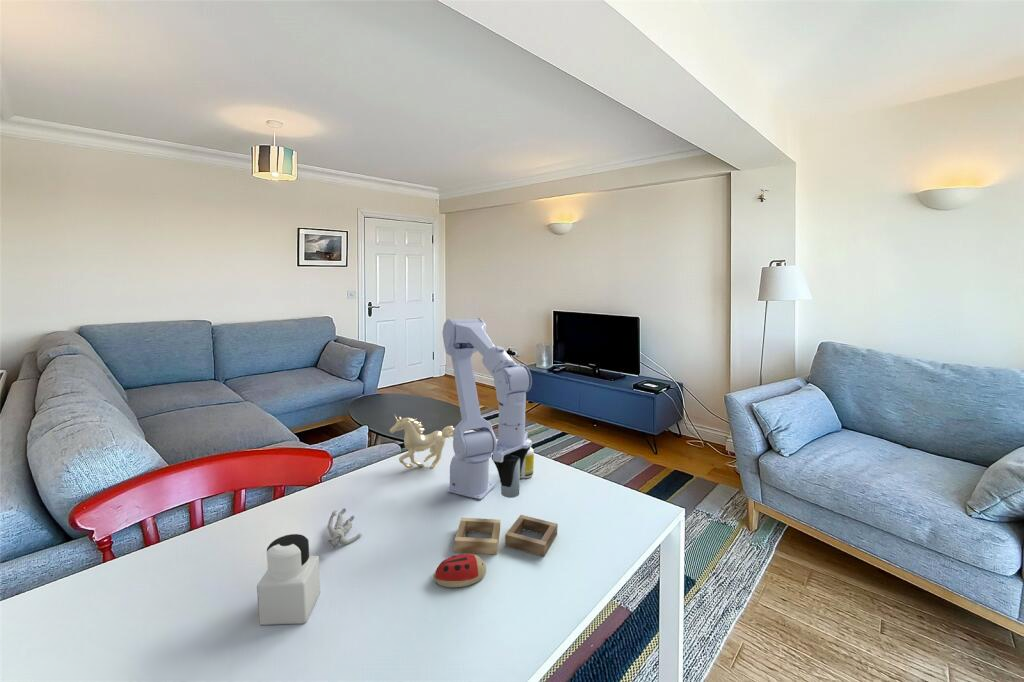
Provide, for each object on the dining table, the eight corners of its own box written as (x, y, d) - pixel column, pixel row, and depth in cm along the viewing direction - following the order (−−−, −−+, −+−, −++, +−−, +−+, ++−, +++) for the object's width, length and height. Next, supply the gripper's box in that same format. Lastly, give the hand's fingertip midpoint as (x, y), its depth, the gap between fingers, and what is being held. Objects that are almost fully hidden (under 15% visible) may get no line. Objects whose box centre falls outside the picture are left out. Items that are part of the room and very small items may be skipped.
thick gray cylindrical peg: (498, 495, 99) (498, 460, 98) (506, 487, 103) (506, 453, 102) (514, 499, 98) (515, 464, 97) (522, 491, 101) (523, 457, 100)
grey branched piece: (365, 525, 101) (364, 538, 90) (348, 543, 100) (345, 559, 88) (338, 502, 100) (334, 512, 89) (321, 520, 99) (315, 533, 88)
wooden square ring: (504, 545, 93) (505, 534, 93) (520, 525, 101) (520, 514, 101) (544, 556, 90) (544, 545, 90) (557, 534, 98) (557, 523, 97)
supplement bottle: (533, 471, 128) (534, 437, 127) (532, 479, 123) (533, 445, 122) (514, 469, 129) (515, 436, 127) (512, 478, 124) (513, 443, 122)
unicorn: (455, 458, 136) (455, 402, 133) (460, 463, 132) (461, 406, 130) (388, 471, 126) (387, 411, 123) (392, 477, 122) (391, 416, 120)
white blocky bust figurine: (278, 594, 78) (274, 529, 76) (321, 592, 79) (318, 528, 77) (258, 626, 71) (253, 555, 69) (306, 624, 72) (302, 554, 70)
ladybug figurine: (491, 582, 83) (491, 564, 82) (438, 596, 79) (438, 577, 78) (479, 560, 89) (479, 543, 88) (429, 572, 85) (429, 555, 84)
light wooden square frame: (454, 551, 91) (454, 540, 90) (461, 528, 99) (461, 517, 99) (496, 554, 90) (497, 542, 90) (500, 530, 99) (500, 519, 98)
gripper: (515, 435, 90) (514, 499, 92) (540, 415, 103) (538, 471, 105) (483, 429, 92) (483, 492, 94) (512, 410, 106) (510, 466, 108)
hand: (510, 481), depth 100 cm, fingers closed on thick gray cylindrical peg, 4 cm apart
